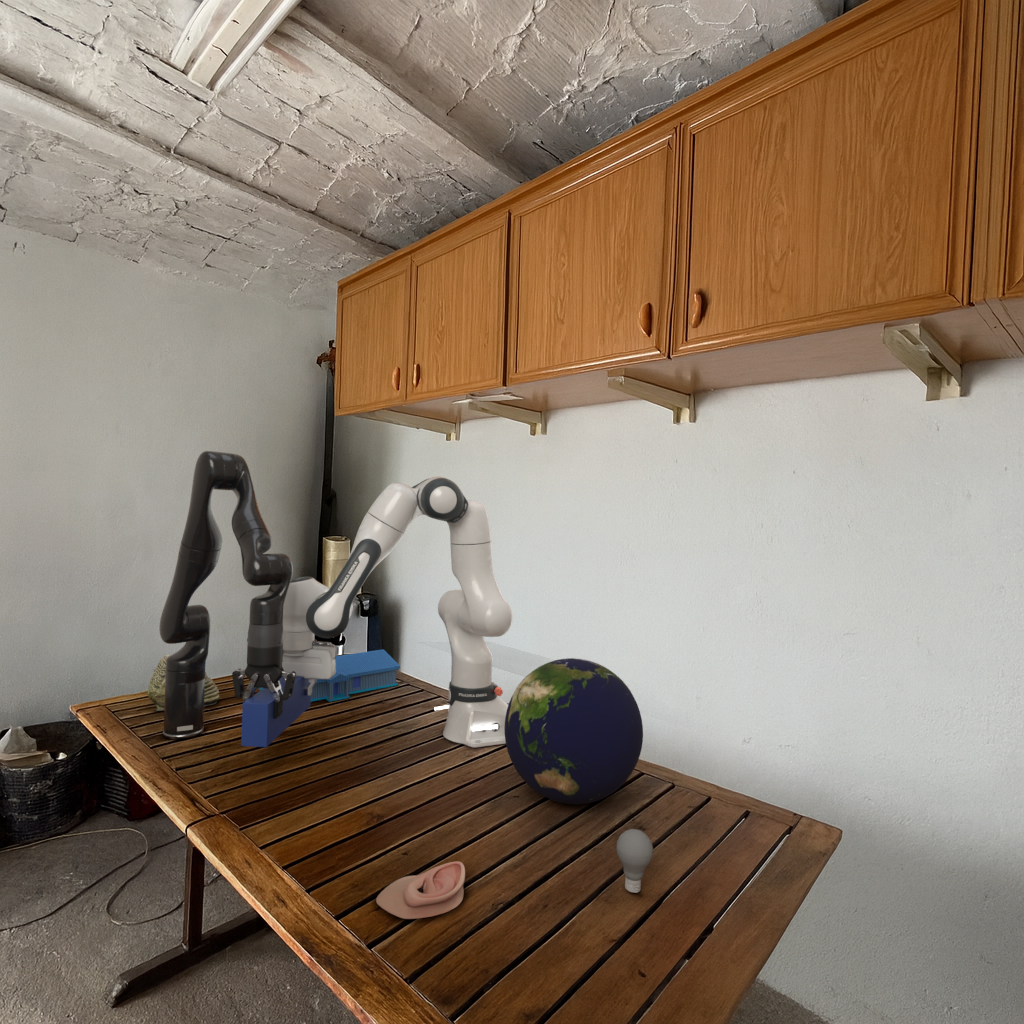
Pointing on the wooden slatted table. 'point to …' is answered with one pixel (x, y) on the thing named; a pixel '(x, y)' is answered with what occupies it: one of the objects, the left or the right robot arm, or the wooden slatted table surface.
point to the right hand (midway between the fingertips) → (294, 694)
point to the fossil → (158, 687)
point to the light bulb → (634, 857)
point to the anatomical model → (425, 892)
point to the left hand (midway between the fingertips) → (262, 716)
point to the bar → (272, 714)
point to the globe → (573, 731)
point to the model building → (357, 675)
